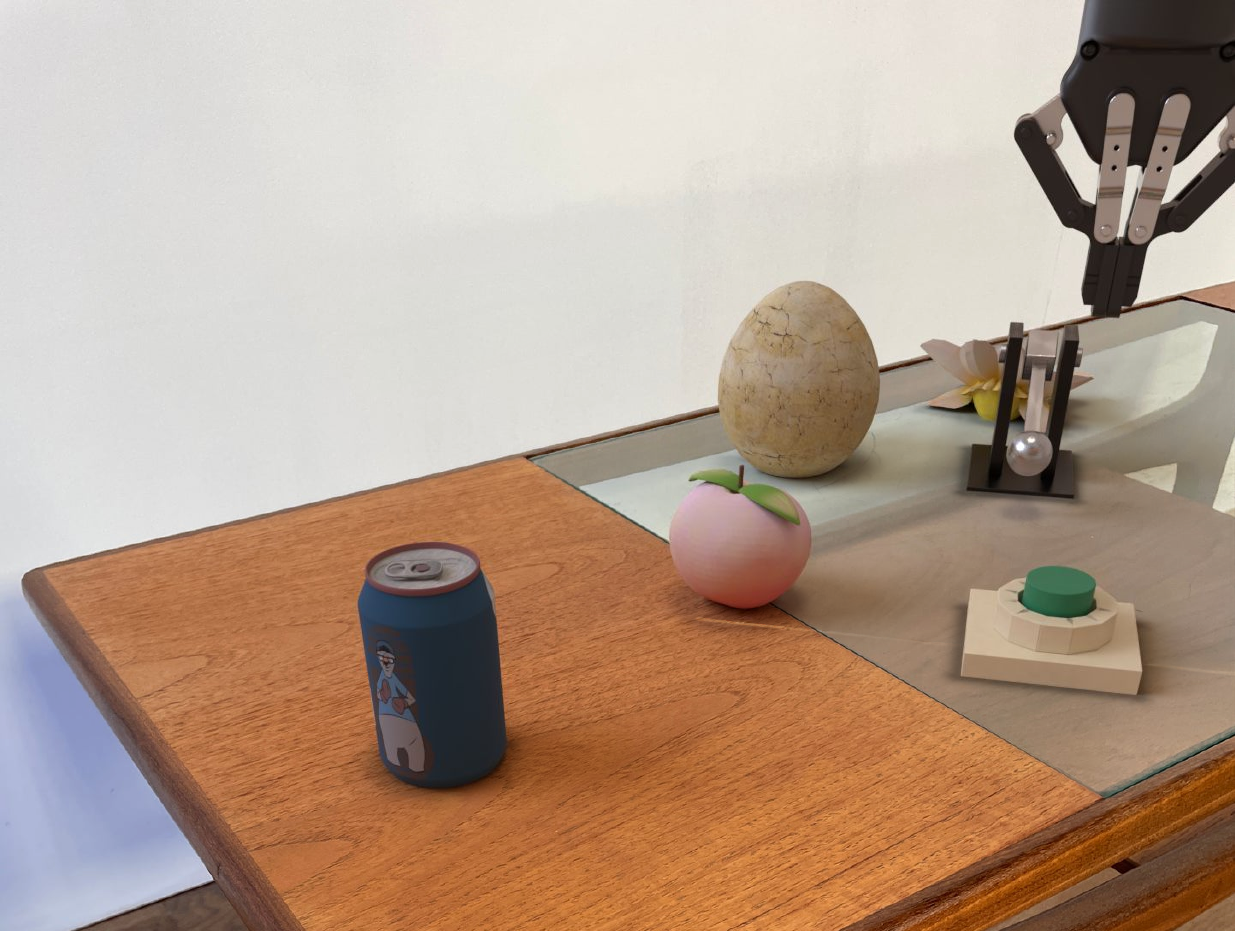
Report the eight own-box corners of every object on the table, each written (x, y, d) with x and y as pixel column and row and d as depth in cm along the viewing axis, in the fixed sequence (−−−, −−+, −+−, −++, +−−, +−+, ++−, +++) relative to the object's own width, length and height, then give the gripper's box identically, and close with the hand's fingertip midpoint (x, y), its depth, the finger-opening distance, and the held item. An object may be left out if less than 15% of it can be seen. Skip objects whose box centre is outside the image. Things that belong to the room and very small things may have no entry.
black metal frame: (1071, 509, 98) (1102, 352, 92) (964, 501, 100) (987, 346, 93) (1069, 464, 106) (1097, 316, 99) (970, 457, 108) (991, 311, 101)
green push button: (1089, 595, 78) (1095, 568, 77) (1091, 624, 75) (1097, 597, 74) (1022, 589, 79) (1026, 562, 78) (1021, 617, 76) (1026, 590, 75)
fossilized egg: (686, 484, 104) (689, 290, 96) (761, 438, 113) (770, 256, 104) (828, 515, 99) (845, 312, 90) (895, 464, 107) (917, 274, 98)
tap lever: (1047, 487, 93) (1054, 455, 91) (1001, 483, 94) (1007, 452, 91) (1059, 360, 99) (1066, 326, 96) (1016, 357, 100) (1022, 324, 97)
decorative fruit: (640, 617, 85) (639, 471, 79) (709, 574, 90) (712, 434, 84) (761, 656, 80) (768, 504, 75) (826, 608, 86) (838, 462, 80)
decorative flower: (1129, 398, 114) (1134, 287, 107) (1070, 462, 109) (1071, 350, 102) (976, 379, 123) (972, 276, 116) (915, 437, 118) (906, 333, 111)
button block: (1126, 634, 82) (1140, 576, 79) (1134, 704, 75) (1149, 643, 72) (965, 618, 84) (974, 562, 82) (959, 685, 77) (968, 625, 75)
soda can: (511, 731, 74) (495, 534, 67) (505, 799, 68) (487, 593, 61) (390, 734, 74) (362, 538, 67) (374, 803, 68) (342, 597, 61)
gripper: (1032, -72, 58) (976, 326, 68) (1351, -77, 55) (1243, 340, 65) (1035, -75, 64) (982, 291, 74) (1323, -79, 61) (1228, 303, 71)
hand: (1105, 313), depth 69 cm, fingers closed
